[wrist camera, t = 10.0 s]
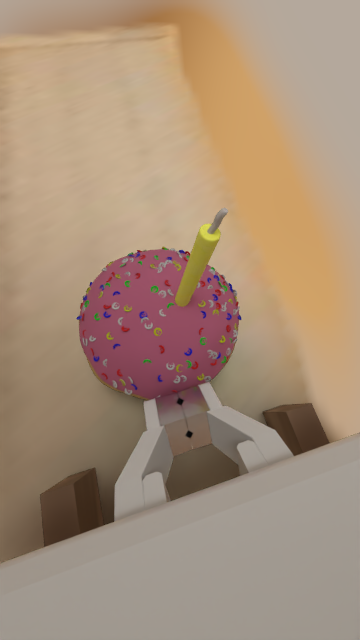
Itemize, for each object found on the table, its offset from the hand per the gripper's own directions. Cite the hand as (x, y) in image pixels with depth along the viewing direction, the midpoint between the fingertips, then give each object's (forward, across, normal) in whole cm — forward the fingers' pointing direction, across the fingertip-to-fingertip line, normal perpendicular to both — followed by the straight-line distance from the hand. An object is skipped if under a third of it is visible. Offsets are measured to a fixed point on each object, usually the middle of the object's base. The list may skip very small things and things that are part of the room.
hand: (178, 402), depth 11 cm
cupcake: (+7, 0, +1) cm, 7 cm away
